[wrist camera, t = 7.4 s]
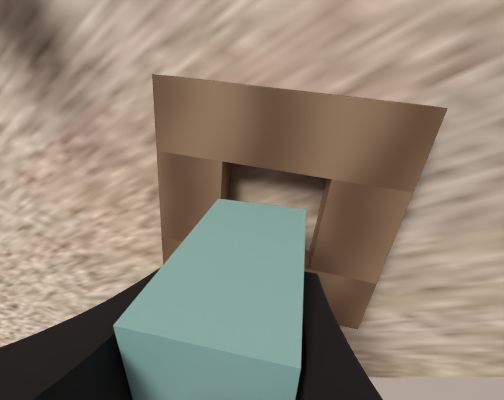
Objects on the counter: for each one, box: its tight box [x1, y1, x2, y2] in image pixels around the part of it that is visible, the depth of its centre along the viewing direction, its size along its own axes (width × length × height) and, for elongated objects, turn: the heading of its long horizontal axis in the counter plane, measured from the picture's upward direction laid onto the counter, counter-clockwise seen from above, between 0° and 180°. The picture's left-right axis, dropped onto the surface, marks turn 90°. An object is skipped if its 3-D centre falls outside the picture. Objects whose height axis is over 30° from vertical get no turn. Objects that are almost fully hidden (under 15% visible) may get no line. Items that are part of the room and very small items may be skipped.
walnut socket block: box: [152, 74, 448, 329], centre depth 16 cm, size 14×14×2 cm
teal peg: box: [113, 199, 306, 400], centre depth 9 cm, size 4×4×7 cm
